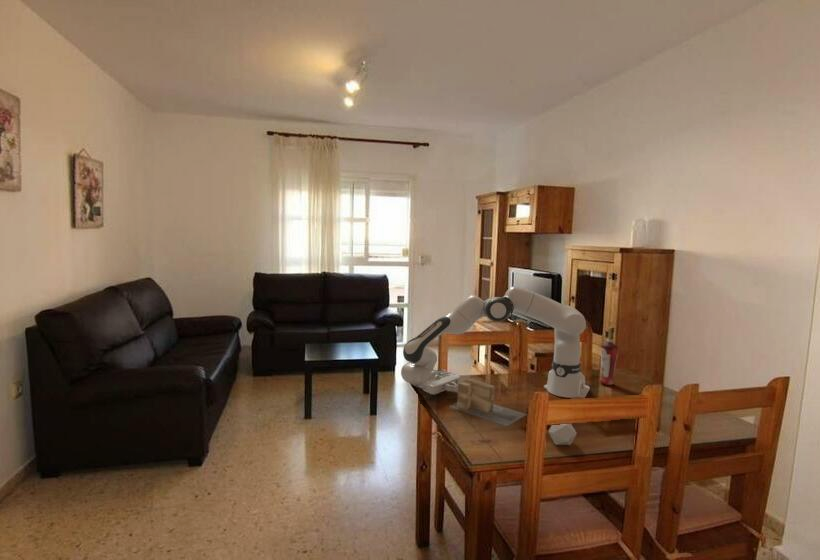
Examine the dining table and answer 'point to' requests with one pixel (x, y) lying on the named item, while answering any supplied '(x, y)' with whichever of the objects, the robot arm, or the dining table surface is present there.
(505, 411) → the t mat
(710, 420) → the dining table surface
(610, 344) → the liquor
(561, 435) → the die
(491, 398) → the t block
